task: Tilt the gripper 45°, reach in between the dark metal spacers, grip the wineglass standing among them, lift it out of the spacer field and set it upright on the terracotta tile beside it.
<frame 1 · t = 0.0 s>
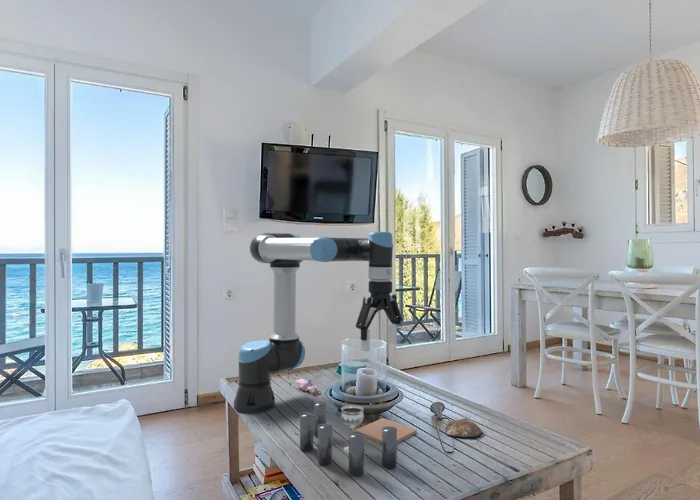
hand: (379, 347, 140), 28 cm above the table, tool pointing down, fingers open, 13 cm apart
terracotta tile: (386, 432, 142), on the table
wineglass: (351, 449, 130), on the table
rabbit figure: (307, 391, 182), on the table
shell: (463, 433, 144), on the table
spacer field: (352, 449, 130), on the table
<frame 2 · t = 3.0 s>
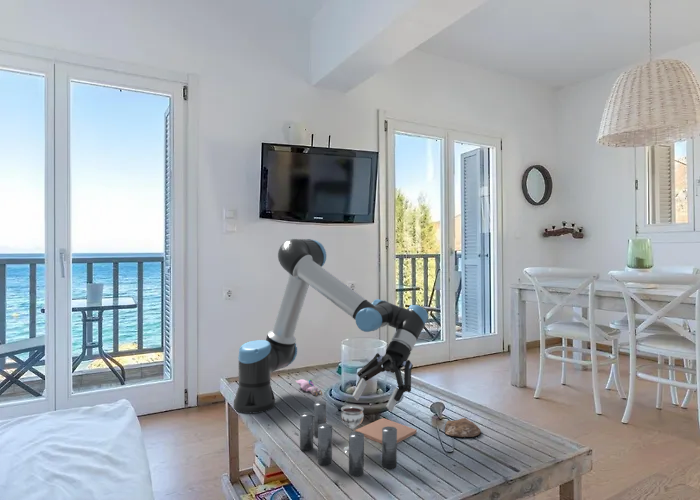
hand: (371, 403, 135), 12 cm above the table, tool tilted 45°, fingers open, 13 cm apart
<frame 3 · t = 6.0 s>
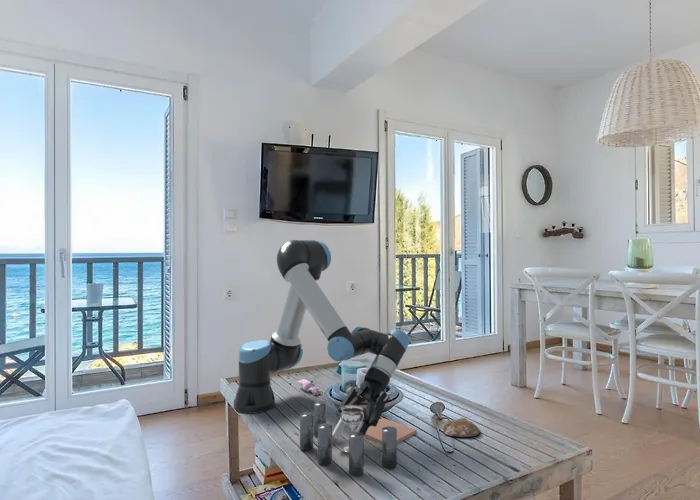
hand: (343, 440, 128), 4 cm above the table, tool tilted 45°, fingers closed on wineglass, 7 cm apart
wineglass: (351, 449, 130), on the table, touching gripper
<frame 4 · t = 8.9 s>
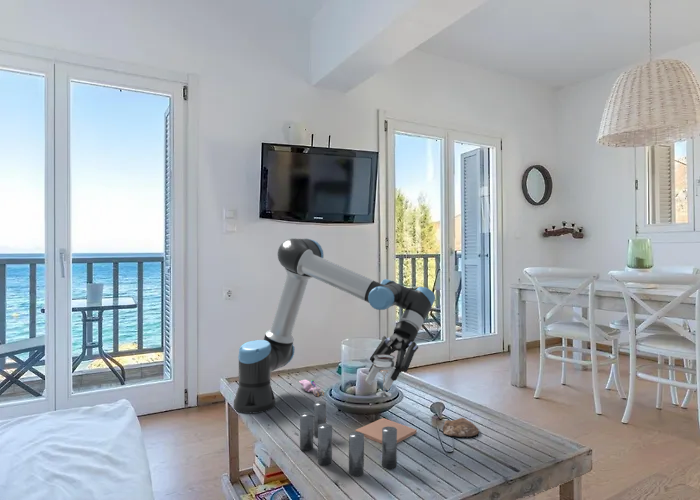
hand: (376, 385, 138), 17 cm above the table, tool tilted 45°, fingers closed on wineglass, 7 cm apart
wineglass: (383, 394, 141), point 13 cm above the table, touching gripper
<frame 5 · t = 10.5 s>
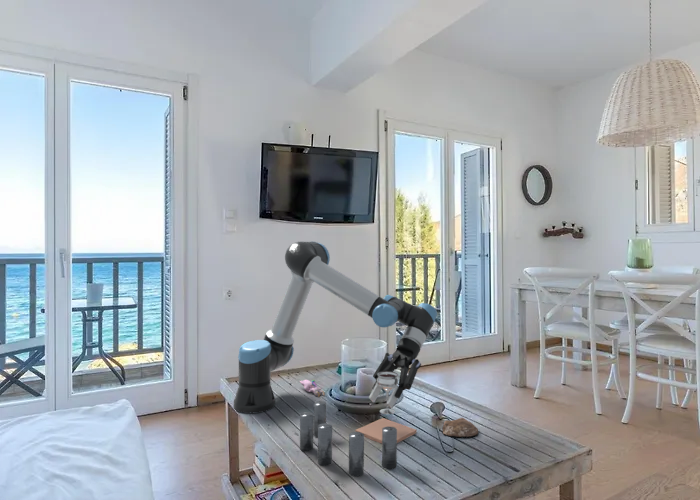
hand: (380, 402, 139), 11 cm above the table, tool tilted 45°, fingers closed on wineglass, 7 cm apart
wineglass: (387, 412, 142), point 7 cm above the table, touching gripper
when the fingers open (6 cm above the table, at t = 11.9 s): wineglass drops 1 cm, resting on terracotta tile.
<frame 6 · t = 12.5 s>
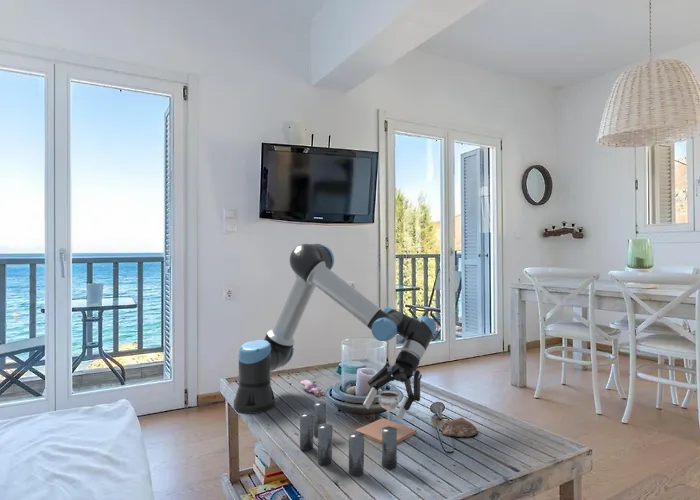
hand: (381, 412, 140), 7 cm above the table, tool tilted 45°, fingers open, 13 cm apart
wineglass: (388, 431, 142), point 1 cm above the table, touching terracotta tile
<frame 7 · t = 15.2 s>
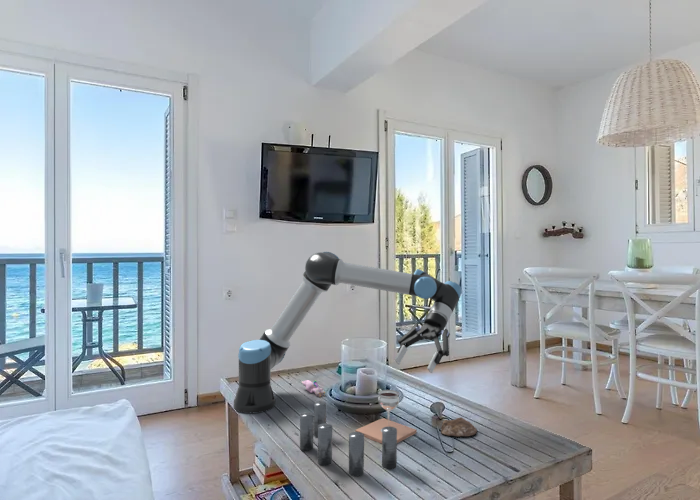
hand: (412, 366, 151), 19 cm above the table, tool tilted 45°, fingers open, 13 cm apart
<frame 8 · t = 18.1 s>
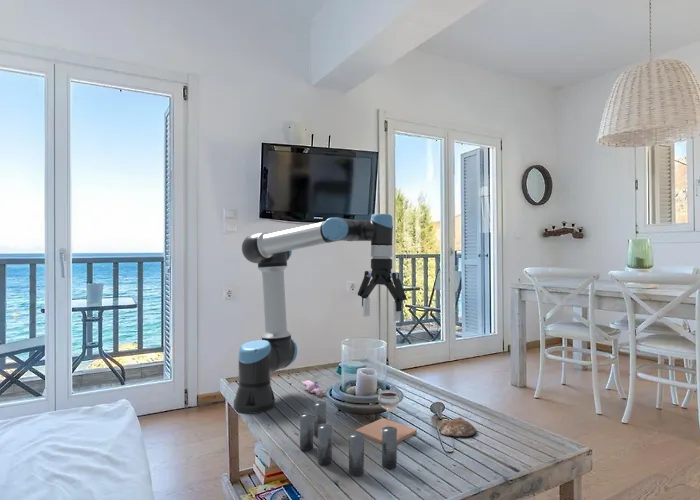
hand: (380, 318, 155), 35 cm above the table, tool pointing down, fingers open, 13 cm apart
at the end: wineglass inside the target area on the terracotta tile (0.9 cm from its centre), point 0.8 cm above the terracotta tile's base; wineglass tilted 0°; the gripper is holding nothing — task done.
